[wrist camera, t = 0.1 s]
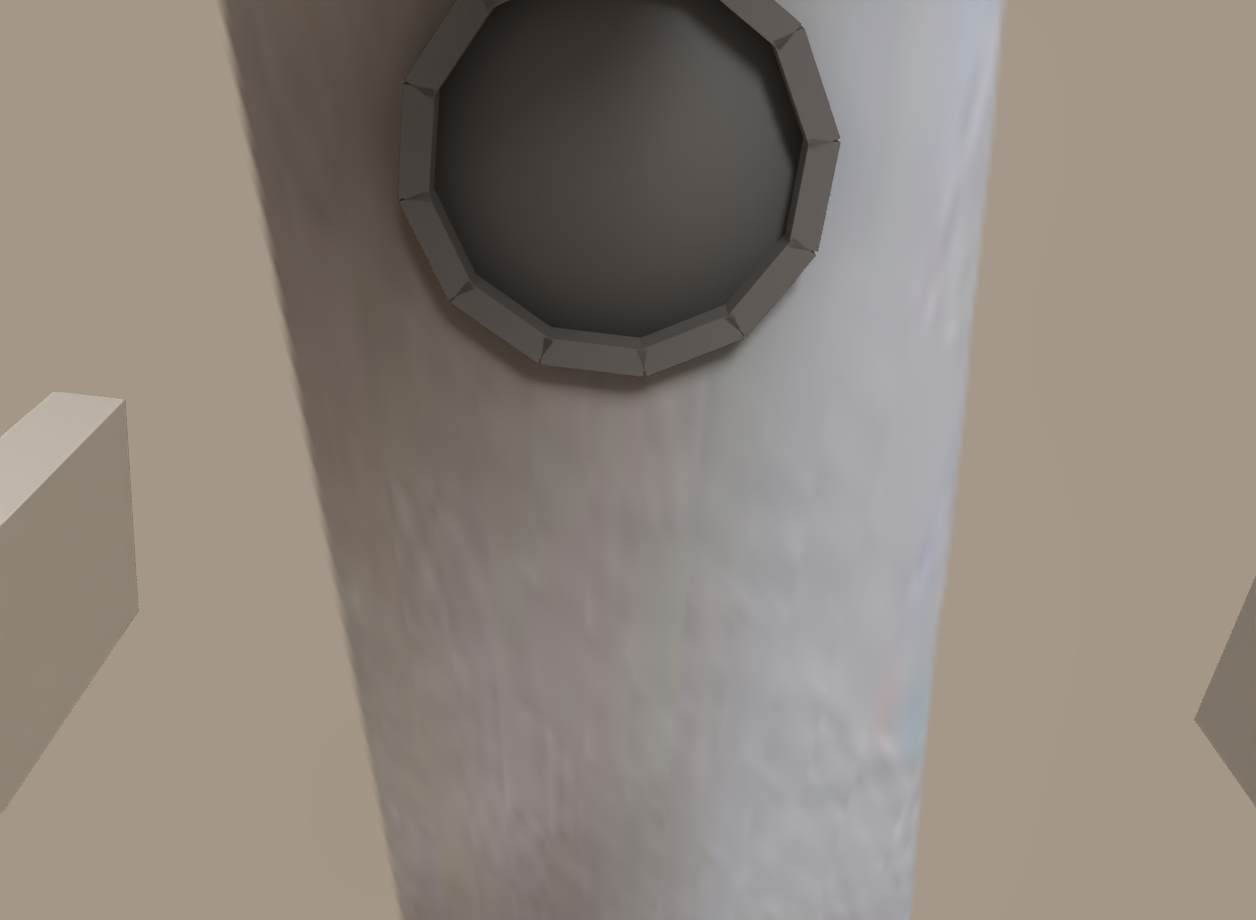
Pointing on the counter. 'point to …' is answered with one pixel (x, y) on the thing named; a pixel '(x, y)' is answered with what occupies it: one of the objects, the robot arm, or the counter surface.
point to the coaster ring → (616, 172)
